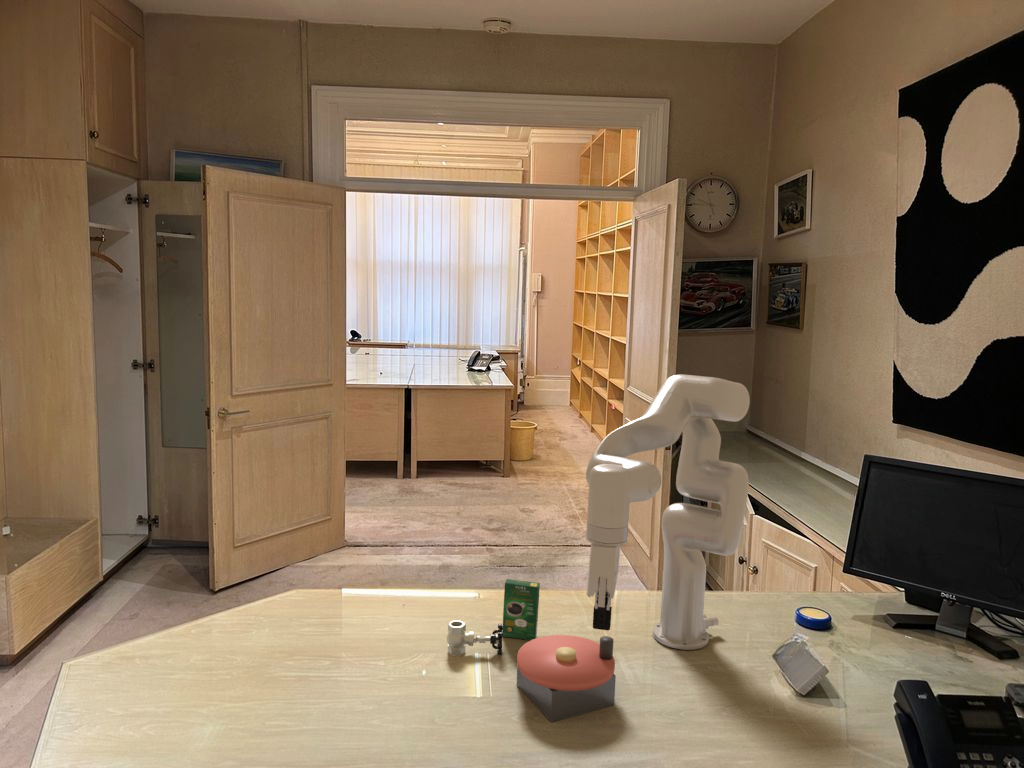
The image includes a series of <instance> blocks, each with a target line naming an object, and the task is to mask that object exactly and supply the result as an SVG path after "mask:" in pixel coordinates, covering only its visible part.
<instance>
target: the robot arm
mask: <svg viewBox="0 0 1024 768" xmlns="http://www.w3.org/2000/svg"><path fill="white" fill-rule="evenodd" d="M749 393H750V392H749V391H748V389H747V387H746V386H745V385H744V384H743V383H741V382H736V381H735V382H734V381H731V380H727V379H724V378H721V377H720V378H719V377H714V376H702V375H693V374H681V373H679V374H674V375H670V376H669V377H667V379H665V381H663V383H662V385H661V386H660V388H659V390H658V391H657V392H656V394H655V395H654V397H653V399H652V400H651V402H650V403H649V405H648V407H647V408H646V410H645V412H644V413H643V414H642V416H641V417H639V418H636V419H635V420H632V421H630V422H627V423H625V424H623V425H622V426H620V427H619V428H616V429H615V430H613V431H611V432H609V434H607V435H606V436H605V437H604V438H603V439H602V440H601V442H600V443H599V444H598V446H597V448H596V449H595V451H594V452H593V453H592V455H591V457H590V459H589V462H588V463H587V467H586V470H585V471H586V472H585V479H586V483H587V486H588V496H587V497H588V499H587V515H586V518H587V519H586V535H585V536H586V538H585V539H586V541H587V542H589V543H590V551H589V561H588V573H587V574H588V576H587V590H586V596H587V597H588V598H591V597H594V598H595V599H594V605H593V614H592V615H593V617H592V619H593V620H592V628H593V629H594V630H599V631H600V630H603V631H610V629H611V622H612V608H613V607H612V606H611V604H612V599H613V598H614V596H615V592H616V591H615V590H616V588H617V582H618V576H619V569H620V568H619V566H620V557H621V556H620V555H621V554H620V553H621V546H624V545H627V544H628V538H629V537H628V535H629V519H630V503H638V502H640V503H641V502H646V501H649V500H650V499H652V498H654V497H655V496H657V494H658V492H659V491H660V488H661V485H662V475H661V472H660V470H659V468H658V467H656V466H655V465H654V464H653V463H651V462H647V461H644V460H640V459H639V460H638V459H631V458H630V457H629V456H631V455H635V454H639V453H643V452H648V451H654V450H658V449H664V448H667V447H671V446H672V445H674V444H675V443H676V442H677V441H678V440H679V439H680V436H681V435H682V441H681V447H680V448H681V450H680V453H679V459H678V464H677V465H678V466H677V470H676V479H675V480H676V481H675V487H676V490H677V491H678V493H679V494H680V495H682V496H684V497H687V498H690V499H694V500H699V501H704V502H709V503H715V504H719V507H720V509H715V508H709V507H706V506H700V505H698V504H692V503H688V502H687V503H685V502H675V503H672V504H670V505H668V506H666V508H665V509H664V510H663V513H662V516H661V531H662V539H663V540H662V541H663V567H662V569H663V570H662V584H661V585H662V587H661V602H660V603H661V604H660V621H659V623H657V624H655V625H654V627H653V628H652V629H653V630H652V635H653V638H654V639H655V640H656V641H657V642H659V643H660V644H662V645H663V646H666V647H668V648H672V649H675V650H676V649H677V650H682V651H685V650H686V651H690V650H691V651H692V650H698V649H702V648H704V647H706V646H707V645H708V644H709V640H710V636H709V633H708V632H707V631H706V630H708V629H709V627H713V626H714V627H715V626H718V625H719V618H718V617H717V616H712V617H708V618H707V615H706V614H704V609H705V592H706V579H707V578H706V577H707V563H706V561H705V557H704V556H703V553H702V551H703V552H706V553H711V554H715V555H719V556H726V557H727V556H728V557H729V556H731V555H734V554H735V553H736V552H737V550H738V549H739V545H740V544H741V543H740V542H741V539H742V535H743V534H742V533H743V529H744V528H743V526H744V522H745V521H744V520H745V517H746V516H745V515H746V509H747V503H748V496H749V489H750V488H749V487H750V483H749V482H750V481H749V474H748V472H747V470H746V468H744V466H743V465H741V464H739V463H735V462H731V461H724V460H720V457H719V456H720V451H721V443H722V436H721V433H720V431H719V429H718V427H717V426H716V423H715V422H714V420H720V421H727V422H733V423H734V422H739V421H741V420H743V419H744V417H746V416H747V413H748V411H749V408H750V404H751V403H750V401H751V400H750V394H749Z"/></svg>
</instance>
